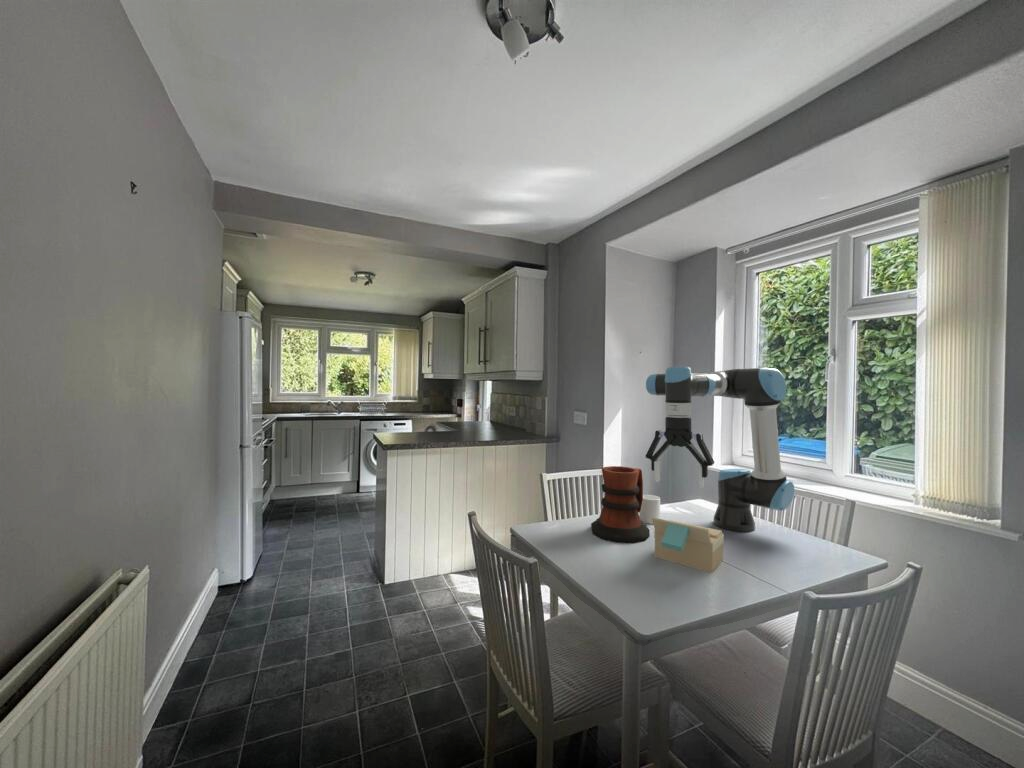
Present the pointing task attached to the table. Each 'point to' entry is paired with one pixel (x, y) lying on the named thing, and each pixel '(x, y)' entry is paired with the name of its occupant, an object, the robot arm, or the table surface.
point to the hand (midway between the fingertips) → (678, 484)
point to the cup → (649, 508)
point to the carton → (694, 551)
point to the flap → (679, 534)
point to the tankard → (621, 506)
